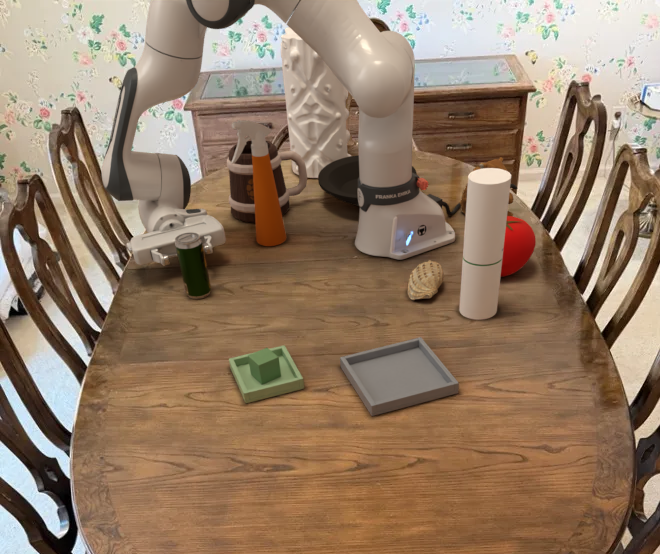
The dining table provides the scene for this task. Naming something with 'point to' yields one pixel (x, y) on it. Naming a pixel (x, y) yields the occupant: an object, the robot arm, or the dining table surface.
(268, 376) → the green block
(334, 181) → the plate
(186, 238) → the beer can
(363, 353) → the steel tray
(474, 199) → the cylindrical container
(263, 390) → the sage tray
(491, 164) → the stuffed squirrel
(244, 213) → the mug
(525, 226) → the tomato
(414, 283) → the seashell
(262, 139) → the spray bottle
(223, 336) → the dining table surface
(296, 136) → the vase
